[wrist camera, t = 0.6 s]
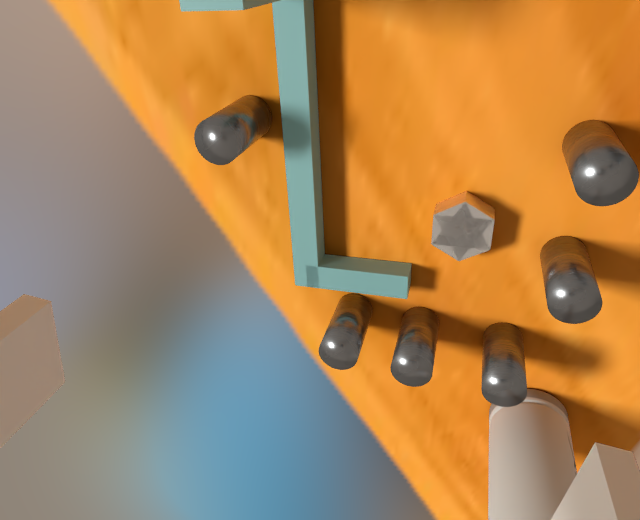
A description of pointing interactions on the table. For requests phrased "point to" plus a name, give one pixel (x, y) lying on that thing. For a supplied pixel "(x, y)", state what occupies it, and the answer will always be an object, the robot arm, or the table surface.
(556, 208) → the table surface
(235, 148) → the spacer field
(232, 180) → the table surface
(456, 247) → the hexagonal star block
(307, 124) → the teal bent bar
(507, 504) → the travel mug
